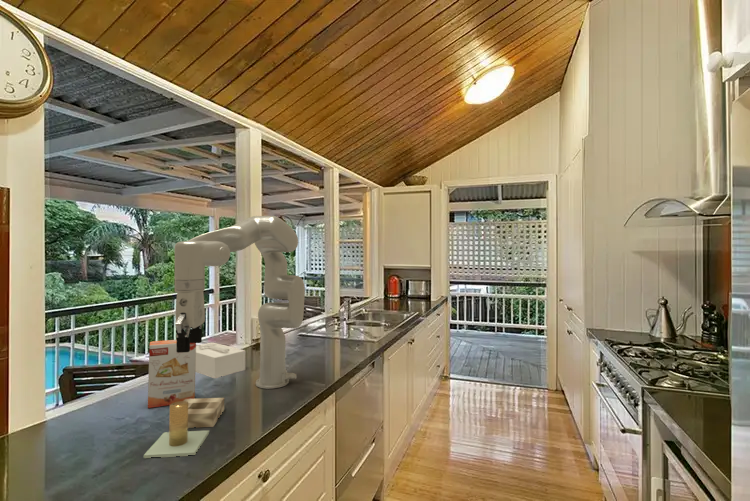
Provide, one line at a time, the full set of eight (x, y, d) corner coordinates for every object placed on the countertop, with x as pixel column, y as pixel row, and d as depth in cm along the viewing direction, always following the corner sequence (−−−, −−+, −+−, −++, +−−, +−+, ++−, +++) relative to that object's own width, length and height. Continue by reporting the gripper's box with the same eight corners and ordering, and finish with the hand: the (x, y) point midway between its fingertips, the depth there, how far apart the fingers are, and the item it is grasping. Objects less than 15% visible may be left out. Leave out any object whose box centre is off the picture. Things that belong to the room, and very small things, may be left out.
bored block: (224, 409, 123) (224, 397, 123) (213, 426, 111) (213, 413, 111) (185, 411, 122) (185, 398, 122) (169, 428, 110) (170, 414, 110)
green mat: (209, 433, 107) (209, 430, 107) (194, 455, 96) (194, 452, 96) (164, 435, 106) (164, 432, 106) (143, 458, 94) (143, 455, 94)
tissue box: (212, 360, 180) (212, 337, 180) (245, 370, 166) (245, 345, 166) (182, 367, 168) (182, 343, 168) (214, 379, 154) (215, 352, 154)
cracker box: (147, 409, 123) (148, 344, 123) (148, 402, 128) (149, 340, 128) (195, 402, 129) (196, 340, 129) (194, 396, 135) (195, 337, 135)
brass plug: (190, 437, 103) (190, 400, 103) (184, 446, 99) (184, 407, 99) (173, 438, 102) (173, 401, 103) (166, 446, 98) (166, 407, 98)
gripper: (193, 289, 97) (193, 355, 98) (212, 282, 114) (212, 339, 115) (162, 289, 96) (162, 356, 97) (186, 282, 113) (186, 339, 114)
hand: (189, 347), depth 106 cm, fingers open, 9 cm apart
